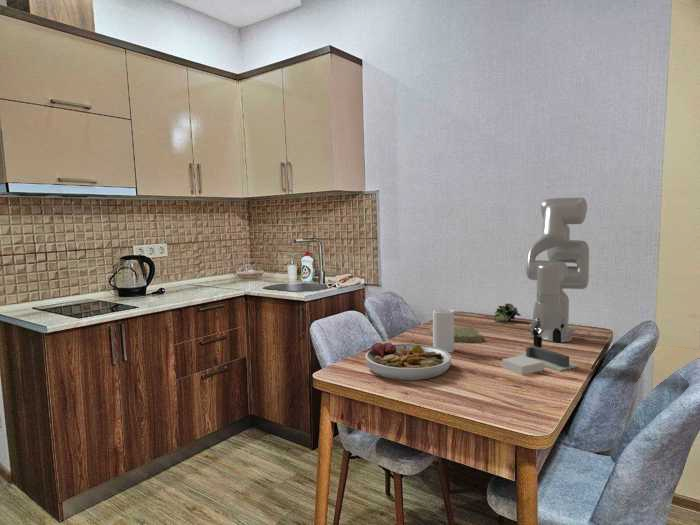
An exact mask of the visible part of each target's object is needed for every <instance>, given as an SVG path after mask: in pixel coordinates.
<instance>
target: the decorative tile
mask: <svg viewBox="0 0 700 525" xmlns="http://www.w3.org/2000/svg"><path fill="white" fill-rule="evenodd" d="M429 332H430V333H429V334H430V335H432V336H431V337H432V338H433V326H431V327H429ZM482 342H483V339H482V335H481V334H480V333H479V332H478V330H476V329H475V328H474V327H473V326H454V343H482Z"/></svg>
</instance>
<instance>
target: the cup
mask: <svg viewBox="0 0 700 525" xmlns="http://www.w3.org/2000/svg"><path fill="white" fill-rule="evenodd" d="M454 317H455V311H454V310H453V309H448V308H437V309H433V311H432V327H433V337H432V346H433V347H437V348H440V349H442V350H445V351H447V352H448V353H449V352H450V353H453V352H454V351H455V342H454V327H455V318H454ZM450 353H449V354H450Z"/></svg>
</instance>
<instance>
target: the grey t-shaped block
mask: <svg viewBox="0 0 700 525" xmlns="http://www.w3.org/2000/svg"><path fill="white" fill-rule="evenodd" d="M525 353H526V357H534V358H537V359H541V360H544V361H547V362H550V363H553V364H556V365H559V366H562V367H568V366H569V363H570V356H569V355H566V354H562V353H559V352H556V351H552V350H549V349H546V348H542V347H541V348H539V347H536V346H534V345H533V346H527V347H526V348H525Z"/></svg>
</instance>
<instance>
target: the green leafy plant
mask: <svg viewBox="0 0 700 525" xmlns="http://www.w3.org/2000/svg"><path fill="white" fill-rule="evenodd" d="M497 307H498V308H496V311H495V312H494V315H493V317H492V320H493V321H494V320H495V321H497V319H499V318H502V320H503V321H505V320H506V322H505V324H507V323H508V321H511V320H515V317H516V316H519V317H521V313H520V312H519V310H518V308H517V307H516V306H513V303H508V302H507V303H505V304H504V305H500V304H498V306H497Z"/></svg>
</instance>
